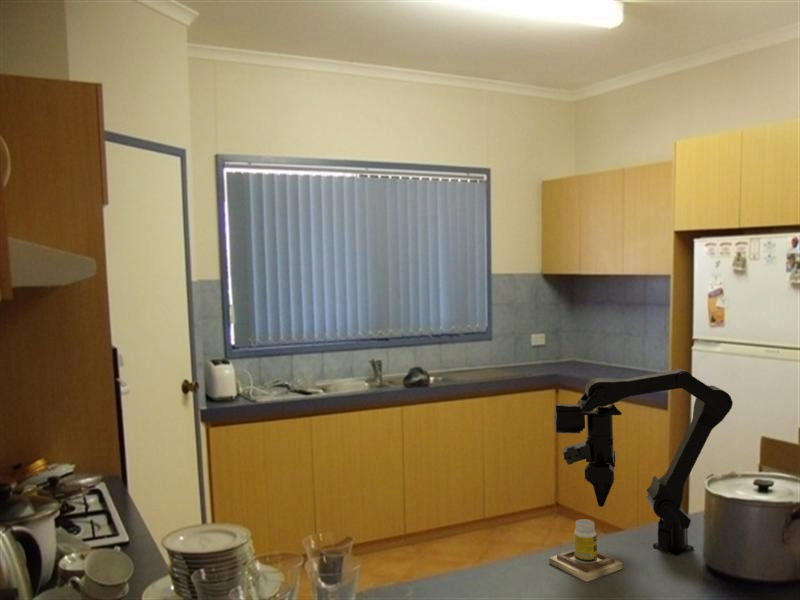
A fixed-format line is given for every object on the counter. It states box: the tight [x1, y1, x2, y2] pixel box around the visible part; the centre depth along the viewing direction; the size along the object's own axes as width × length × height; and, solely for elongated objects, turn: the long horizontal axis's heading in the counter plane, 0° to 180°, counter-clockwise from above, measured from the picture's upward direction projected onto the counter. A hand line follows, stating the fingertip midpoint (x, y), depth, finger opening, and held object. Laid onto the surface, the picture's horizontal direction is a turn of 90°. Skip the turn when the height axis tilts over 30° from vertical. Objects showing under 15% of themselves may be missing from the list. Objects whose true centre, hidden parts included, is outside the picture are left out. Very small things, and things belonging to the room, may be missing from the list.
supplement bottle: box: [573, 518, 598, 564], centre depth 143 cm, size 5×5×8 cm
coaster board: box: [548, 548, 624, 583], centre depth 143 cm, size 11×11×2 cm
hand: (601, 499), depth 153 cm, fingers open, 9 cm apart
